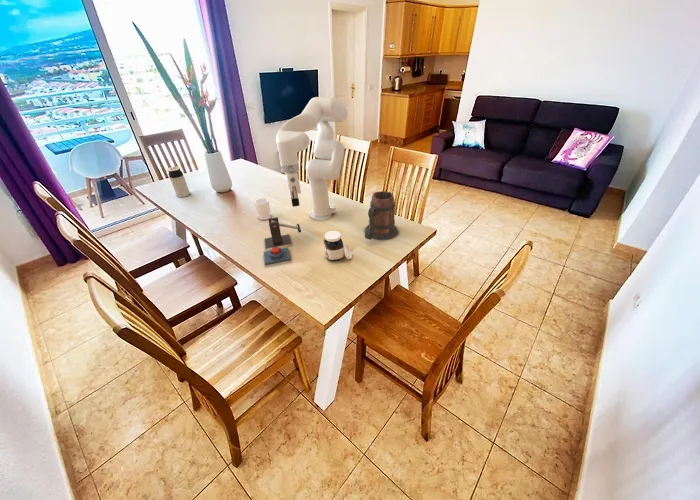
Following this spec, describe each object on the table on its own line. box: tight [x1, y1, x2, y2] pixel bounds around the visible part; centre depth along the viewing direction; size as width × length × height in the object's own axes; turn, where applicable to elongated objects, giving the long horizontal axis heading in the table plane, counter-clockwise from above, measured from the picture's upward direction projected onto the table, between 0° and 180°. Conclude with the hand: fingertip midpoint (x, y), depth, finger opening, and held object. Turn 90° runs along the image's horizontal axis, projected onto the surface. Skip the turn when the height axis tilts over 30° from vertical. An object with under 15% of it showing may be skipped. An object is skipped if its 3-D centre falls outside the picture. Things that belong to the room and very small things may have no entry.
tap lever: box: [271, 220, 302, 233], centre depth 141 cm, size 14×6×2 cm, turn 107°
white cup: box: [253, 197, 272, 221], centre depth 164 cm, size 8×8×10 cm
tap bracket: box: [264, 216, 292, 249], centre depth 141 cm, size 12×9×13 cm
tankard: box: [364, 190, 399, 241], centre depth 144 cm, size 24×17×20 cm
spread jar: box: [323, 230, 353, 262], centre depth 131 cm, size 12×11×12 cm
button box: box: [263, 247, 291, 266], centre depth 133 cm, size 11×9×4 cm
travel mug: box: [166, 165, 191, 198], centre depth 190 cm, size 8×8×18 cm
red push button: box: [270, 246, 280, 254], centre depth 132 cm, size 4×4×2 cm
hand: (295, 205), depth 137 cm, fingers closed
